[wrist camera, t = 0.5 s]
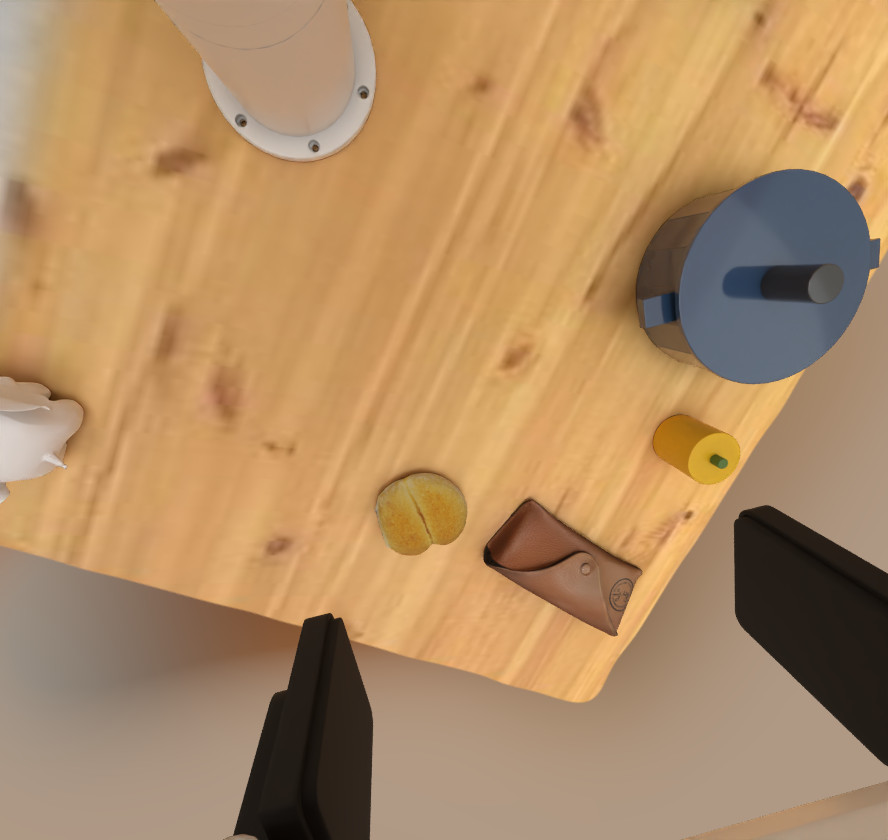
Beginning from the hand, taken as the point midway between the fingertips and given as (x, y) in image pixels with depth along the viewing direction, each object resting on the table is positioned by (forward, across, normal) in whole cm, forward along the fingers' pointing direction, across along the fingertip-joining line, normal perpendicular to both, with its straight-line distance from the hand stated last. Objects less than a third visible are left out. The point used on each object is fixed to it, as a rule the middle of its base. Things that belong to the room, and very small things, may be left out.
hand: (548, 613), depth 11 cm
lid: (+28, -29, -2) cm, 40 cm away
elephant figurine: (+35, +34, -3) cm, 49 cm away
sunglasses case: (+35, -11, +25) cm, 44 cm away
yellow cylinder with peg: (+35, -24, +14) cm, 44 cm away
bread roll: (+35, +4, +15) cm, 38 cm away
